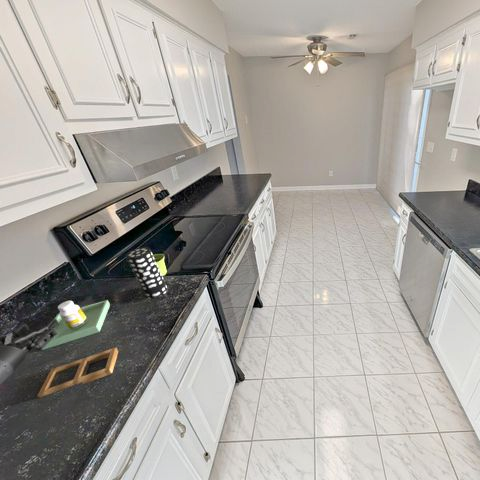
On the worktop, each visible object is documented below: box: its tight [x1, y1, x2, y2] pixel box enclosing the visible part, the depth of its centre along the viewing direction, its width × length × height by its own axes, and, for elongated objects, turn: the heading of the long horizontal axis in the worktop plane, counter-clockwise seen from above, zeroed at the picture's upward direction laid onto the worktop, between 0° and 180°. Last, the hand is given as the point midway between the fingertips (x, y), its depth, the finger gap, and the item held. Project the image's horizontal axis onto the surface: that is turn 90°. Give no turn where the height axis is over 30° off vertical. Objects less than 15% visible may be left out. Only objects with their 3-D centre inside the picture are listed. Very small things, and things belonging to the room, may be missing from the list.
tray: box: [41, 299, 111, 351], centre depth 94 cm, size 16×16×3 cm
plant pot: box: [153, 253, 168, 277], centre depth 119 cm, size 9×9×9 cm
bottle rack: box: [37, 347, 119, 399], centre depth 75 cm, size 16×9×2 cm, turn 115°
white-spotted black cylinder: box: [125, 246, 169, 300], centre depth 104 cm, size 8×8×20 cm
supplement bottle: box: [57, 300, 88, 329], centre depth 92 cm, size 5×5×10 cm
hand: (41, 323), depth 80 cm, fingers open, 8 cm apart
